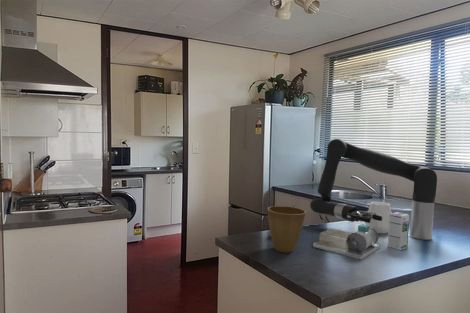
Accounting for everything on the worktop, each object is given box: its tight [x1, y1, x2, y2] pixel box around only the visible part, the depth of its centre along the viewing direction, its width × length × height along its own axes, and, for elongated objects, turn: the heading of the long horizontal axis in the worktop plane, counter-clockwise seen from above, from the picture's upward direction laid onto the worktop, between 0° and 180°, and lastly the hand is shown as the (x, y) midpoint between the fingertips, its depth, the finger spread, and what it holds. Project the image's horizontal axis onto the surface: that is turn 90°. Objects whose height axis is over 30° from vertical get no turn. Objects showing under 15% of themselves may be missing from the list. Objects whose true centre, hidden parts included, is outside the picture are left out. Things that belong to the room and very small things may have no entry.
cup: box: [364, 201, 393, 234], centre depth 172 cm, size 13×13×14 cm
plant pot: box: [267, 205, 307, 254], centre depth 137 cm, size 15×15×16 cm
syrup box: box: [387, 211, 410, 251], centre depth 146 cm, size 6×6×14 cm
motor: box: [312, 223, 381, 260], centre depth 143 cm, size 20×20×10 cm
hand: (375, 219), depth 155 cm, fingers open, 8 cm apart
